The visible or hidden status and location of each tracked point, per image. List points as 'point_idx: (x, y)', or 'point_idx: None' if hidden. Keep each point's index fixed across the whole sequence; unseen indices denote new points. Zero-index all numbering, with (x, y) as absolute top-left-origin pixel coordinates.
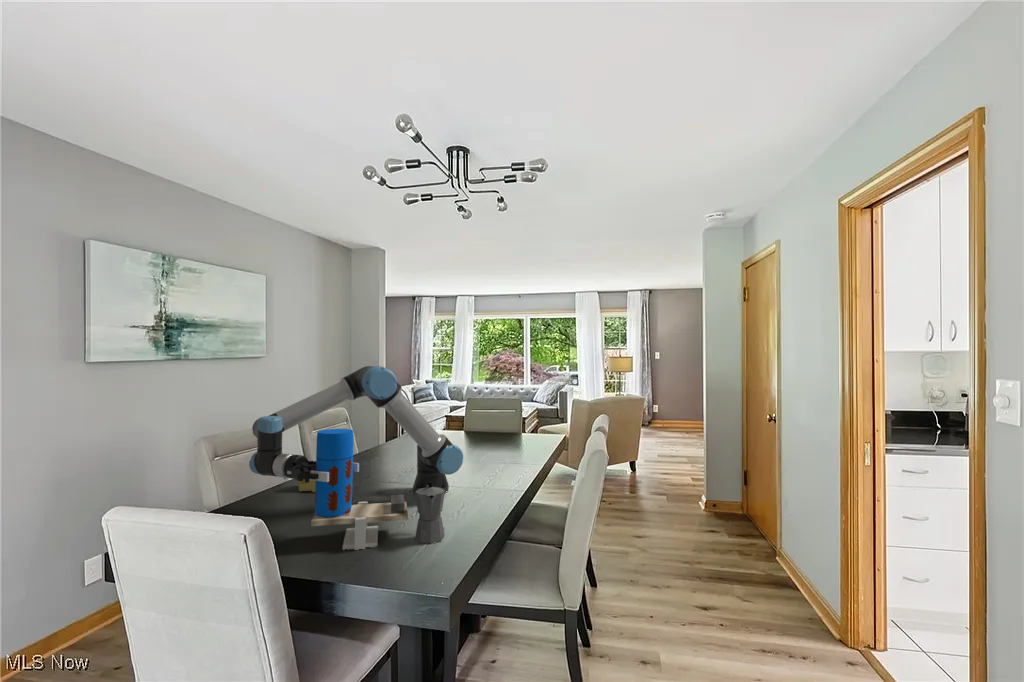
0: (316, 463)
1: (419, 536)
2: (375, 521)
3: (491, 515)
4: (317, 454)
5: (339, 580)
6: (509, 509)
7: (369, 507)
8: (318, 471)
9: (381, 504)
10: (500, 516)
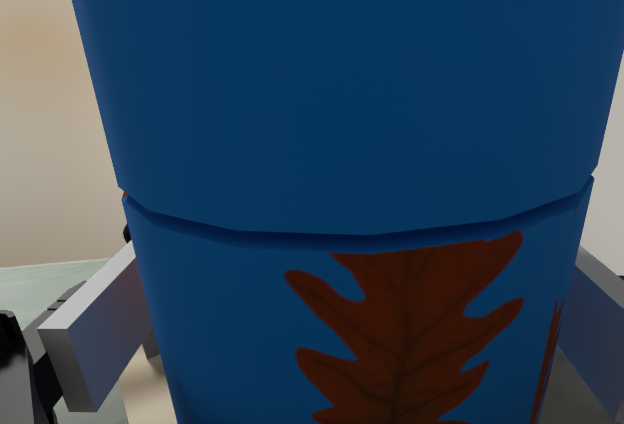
0: (566, 272)
1: None
2: None
3: (52, 280)
4: (609, 105)
5: (561, 362)
6: (11, 268)
7: None
8: (586, 263)
9: (149, 389)
10: (66, 268)
